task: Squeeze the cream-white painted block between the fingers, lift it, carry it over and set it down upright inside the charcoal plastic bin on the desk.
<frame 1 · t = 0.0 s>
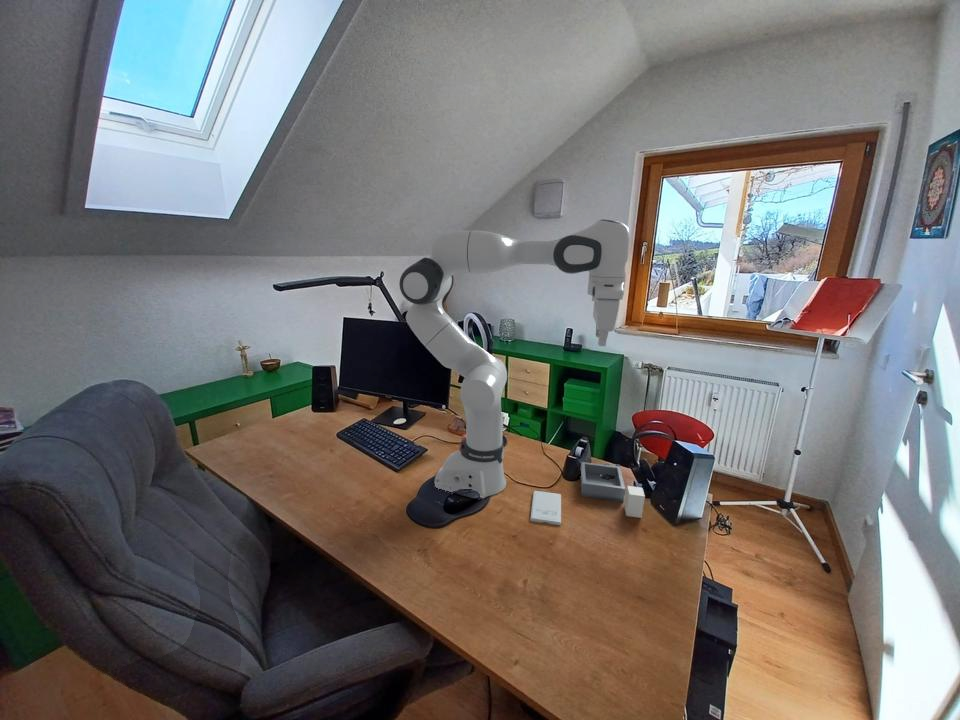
hand: (600, 341, 102), 48 cm above the table, tool pointing down, fingers open, 8 cm apart
external hard drive: (546, 510, 110), on the table
cream block: (632, 512, 109), on the table
bin: (600, 487, 120), on the table
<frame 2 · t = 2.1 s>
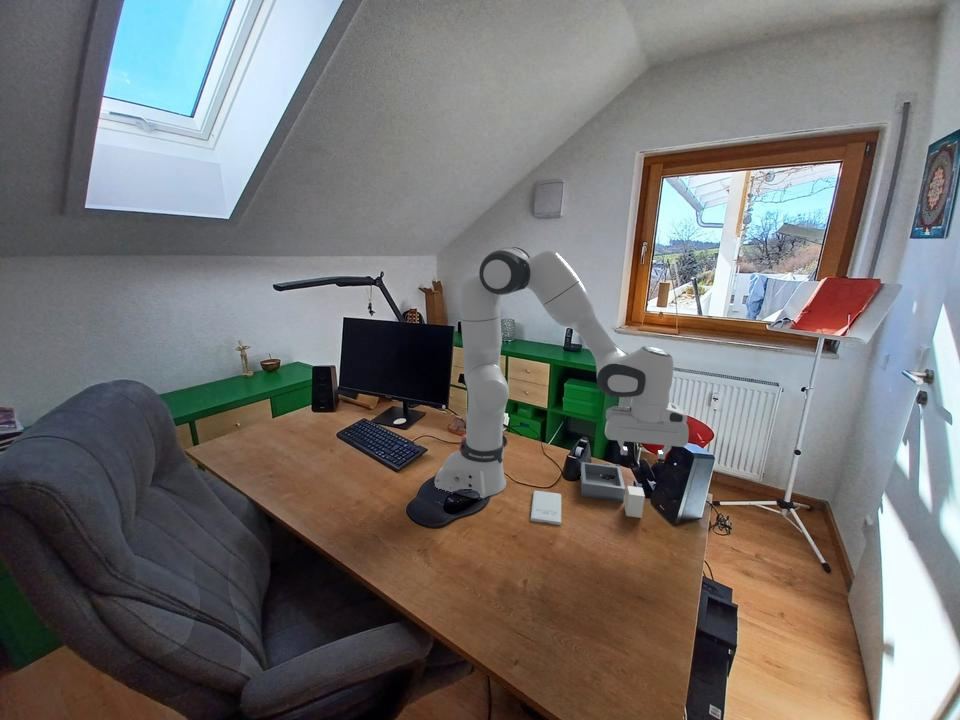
hand: (642, 456, 104), 18 cm above the table, tool pointing down, fingers open, 8 cm apart
nothing on the table moved.
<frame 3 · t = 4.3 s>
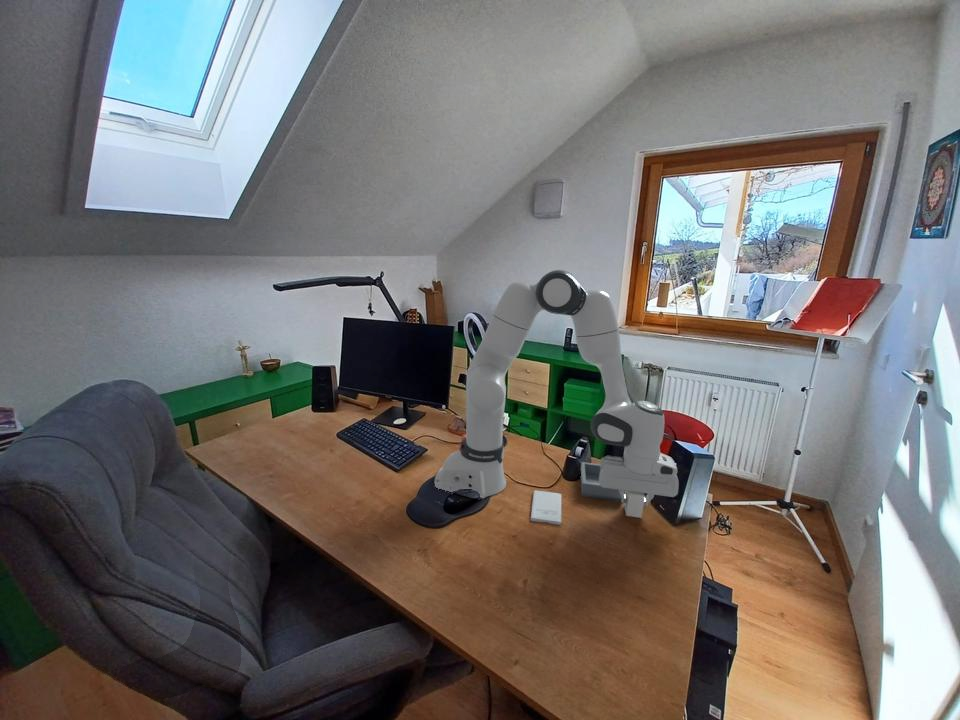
hand: (634, 503, 108), 3 cm above the table, tool pointing down, fingers closed on cream block, 4 cm apart
cream block: (632, 512, 109), on the table, touching gripper
everything else where it was.
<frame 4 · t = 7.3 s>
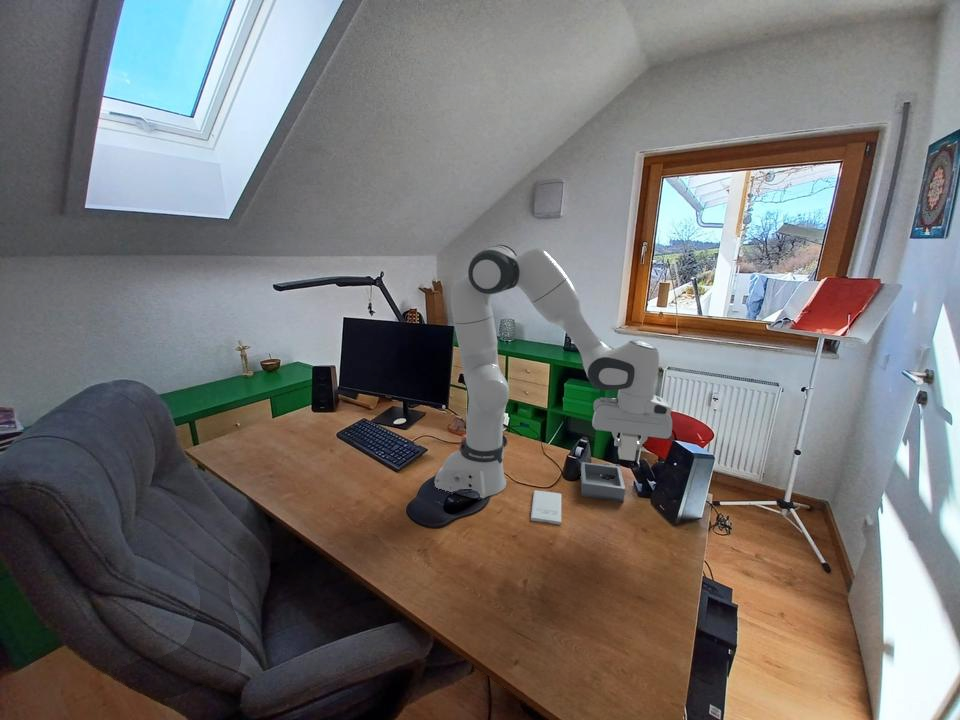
hand: (627, 446, 107), 18 cm above the table, tool pointing down, fingers closed on cream block, 4 cm apart
cream block: (625, 456, 108), point 16 cm above the table, touching gripper
everything else where it was.
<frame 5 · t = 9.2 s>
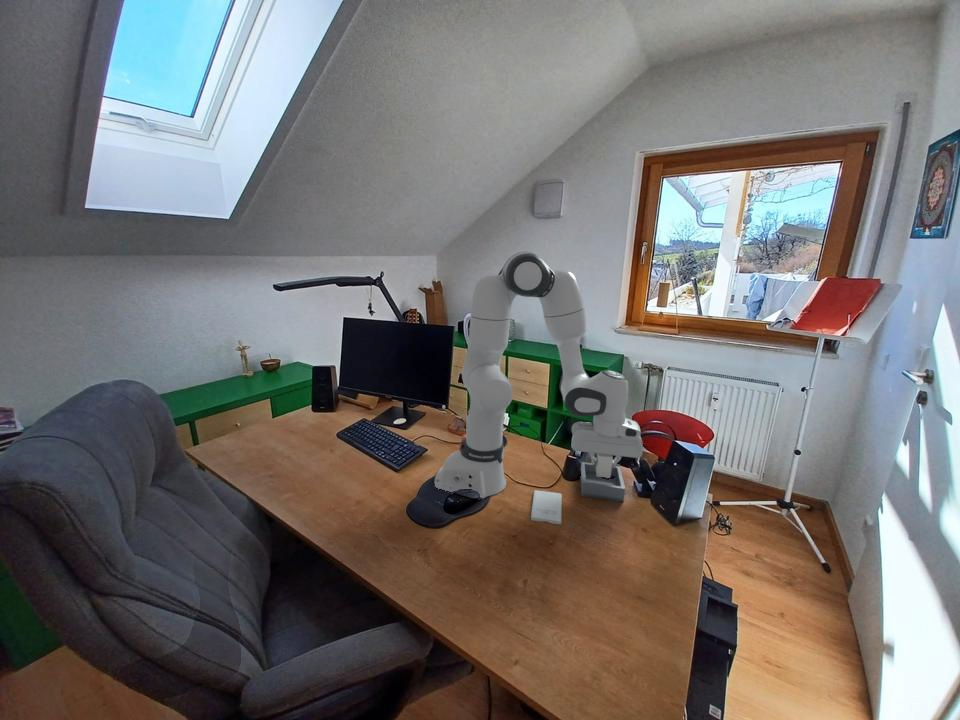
hand: (603, 465, 118), 8 cm above the table, tool pointing down, fingers closed on cream block, 4 cm apart
cream block: (602, 473, 119), point 5 cm above the table, touching gripper
everything else where it was.
when the fingers open (5 cm above the table, at t = 10.5 s): cream block stays where it is, resting on bin.
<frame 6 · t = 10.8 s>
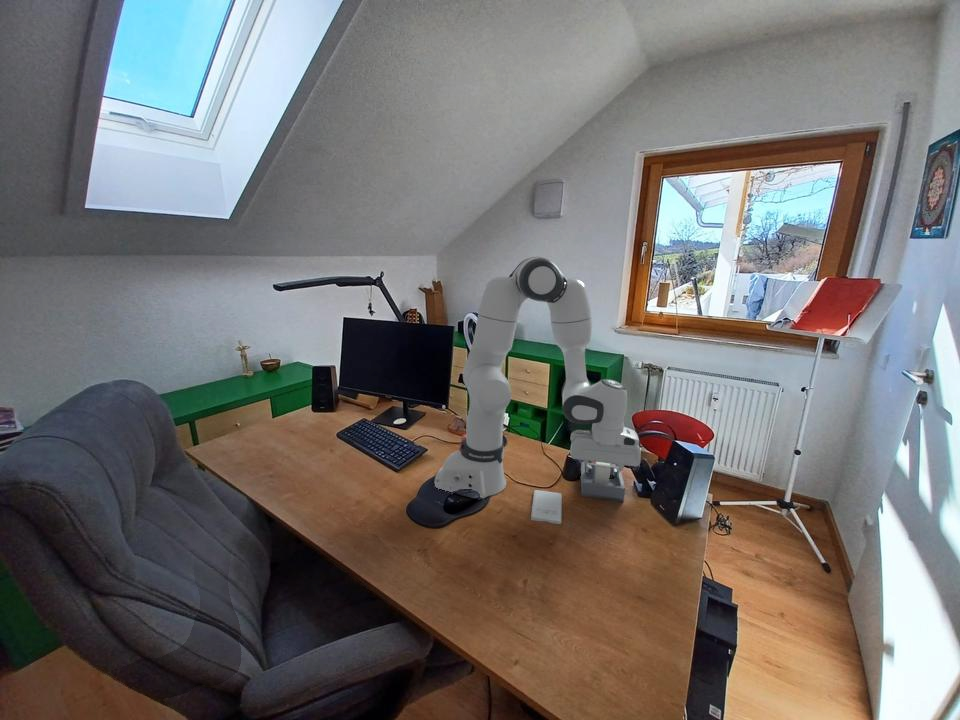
hand: (602, 473, 119), 5 cm above the table, tool pointing down, fingers open, 7 cm apart
cream block: (600, 484, 120), point 1 cm above the table, touching bin
everything else where it was.
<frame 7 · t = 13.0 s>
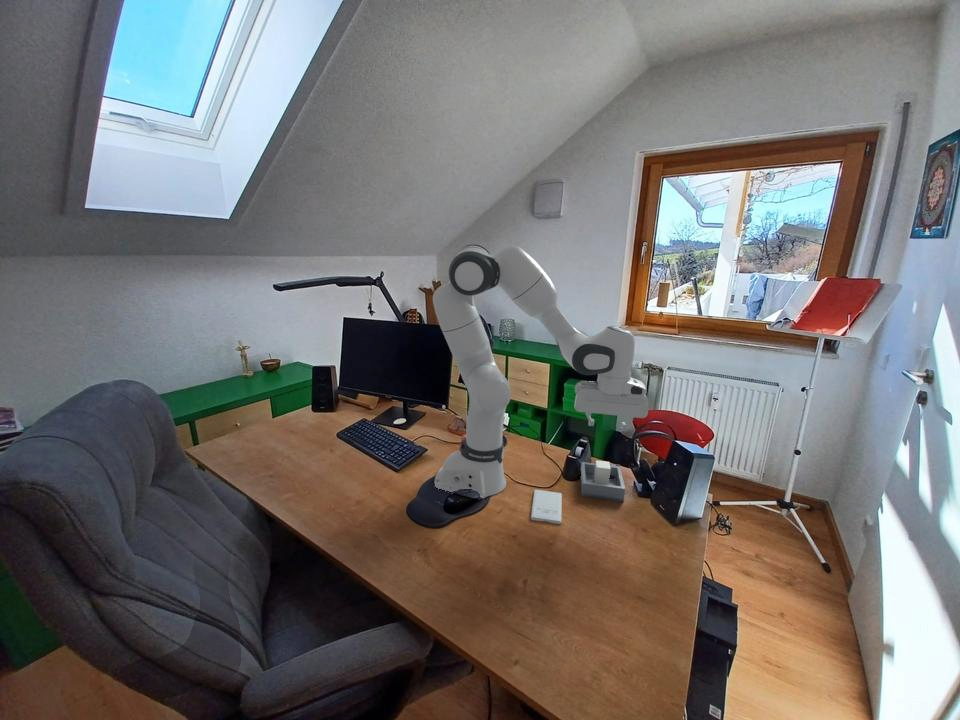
hand: (607, 427, 114), 21 cm above the table, tool pointing down, fingers open, 8 cm apart
nothing on the table moved.
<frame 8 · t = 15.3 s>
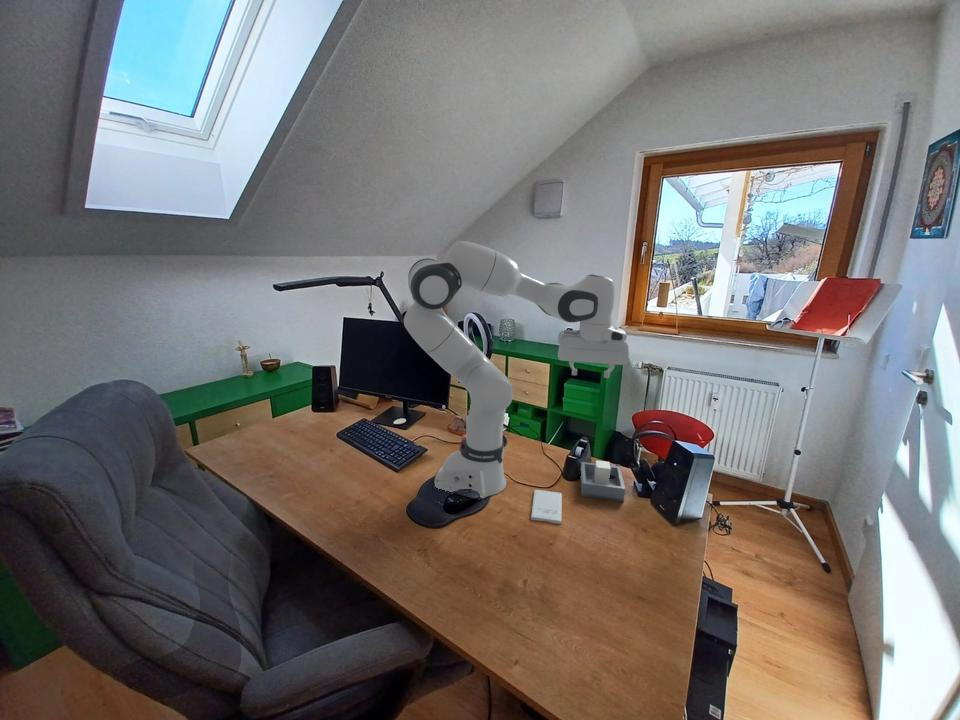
hand: (590, 376, 117), 34 cm above the table, tool pointing down, fingers open, 8 cm apart
nothing on the table moved.
at the end: cream block inside the target area on the bin (0.1 cm from its centre), point 1.0 cm above the bin's base; cream block tilted 0°; the gripper is holding nothing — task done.
